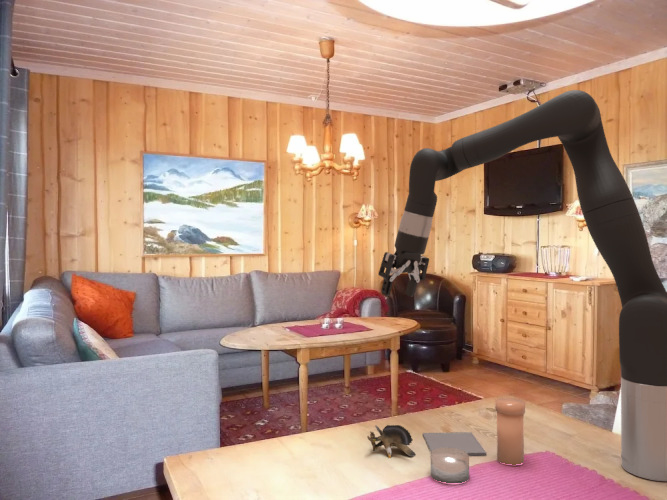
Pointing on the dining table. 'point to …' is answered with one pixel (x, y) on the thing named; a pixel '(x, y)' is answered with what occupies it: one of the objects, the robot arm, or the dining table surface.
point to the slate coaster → (455, 442)
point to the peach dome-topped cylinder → (510, 430)
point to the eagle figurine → (392, 439)
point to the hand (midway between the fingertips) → (397, 295)
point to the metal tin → (449, 465)
